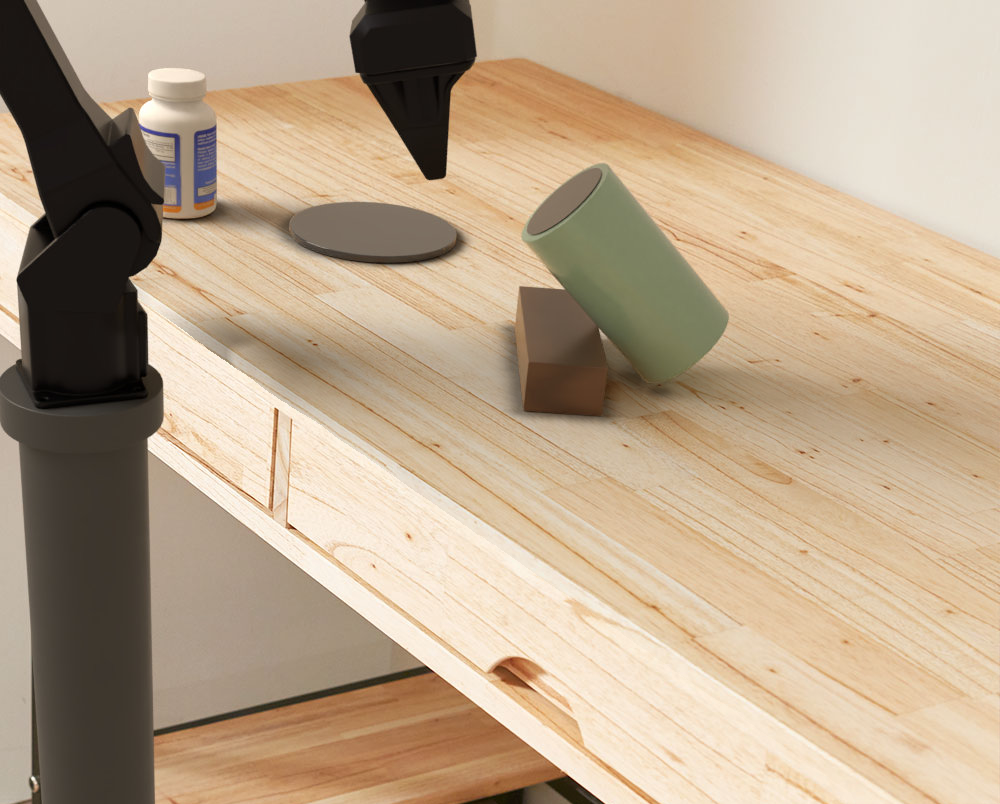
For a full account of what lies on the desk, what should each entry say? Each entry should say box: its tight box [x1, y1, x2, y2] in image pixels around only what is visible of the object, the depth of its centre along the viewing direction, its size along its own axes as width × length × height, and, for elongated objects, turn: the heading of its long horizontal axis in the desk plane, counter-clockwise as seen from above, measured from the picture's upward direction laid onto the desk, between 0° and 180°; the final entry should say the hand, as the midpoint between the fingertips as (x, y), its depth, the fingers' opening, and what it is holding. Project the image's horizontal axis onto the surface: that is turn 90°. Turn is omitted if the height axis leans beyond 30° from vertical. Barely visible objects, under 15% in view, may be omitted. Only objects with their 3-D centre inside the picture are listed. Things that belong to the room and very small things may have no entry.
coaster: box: [288, 201, 457, 264], centre depth 111 cm, size 12×12×1 cm
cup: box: [520, 162, 730, 384], centre depth 89 cm, size 13×6×13 cm, turn 92°
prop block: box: [514, 285, 609, 417], centre depth 91 cm, size 4×12×3 cm, turn 2°
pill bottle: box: [138, 67, 218, 220], centre depth 110 cm, size 5×5×10 cm
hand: (435, 153), depth 89 cm, fingers open, 9 cm apart
